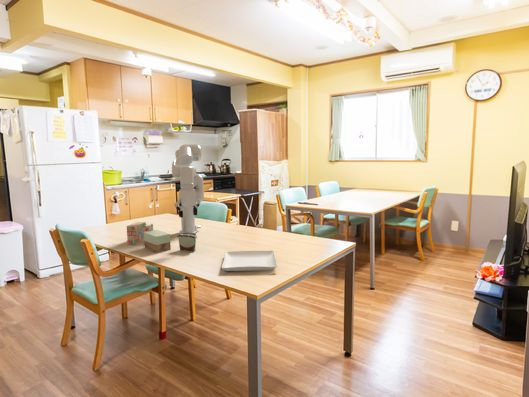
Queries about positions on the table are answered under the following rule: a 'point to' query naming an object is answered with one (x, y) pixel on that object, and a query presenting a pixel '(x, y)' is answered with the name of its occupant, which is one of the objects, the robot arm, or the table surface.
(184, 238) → the food container
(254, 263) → the square plate
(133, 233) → the stack of blocks
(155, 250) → the tower base slab
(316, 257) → the table surface
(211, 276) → the table surface
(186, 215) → the robot arm
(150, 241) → the tower top slab
